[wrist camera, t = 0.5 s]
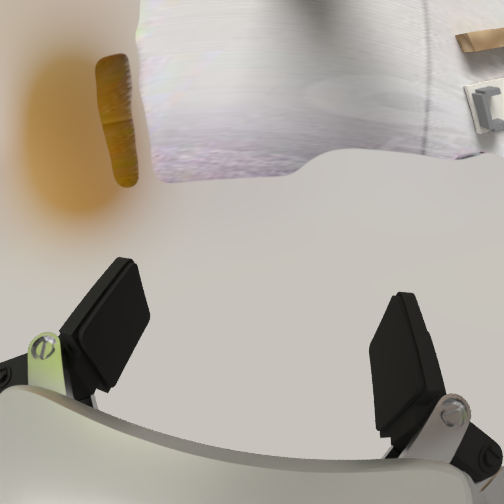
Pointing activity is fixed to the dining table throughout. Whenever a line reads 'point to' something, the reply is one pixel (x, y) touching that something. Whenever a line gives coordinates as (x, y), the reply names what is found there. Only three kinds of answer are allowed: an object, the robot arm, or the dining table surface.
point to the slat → (481, 40)
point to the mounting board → (487, 104)
